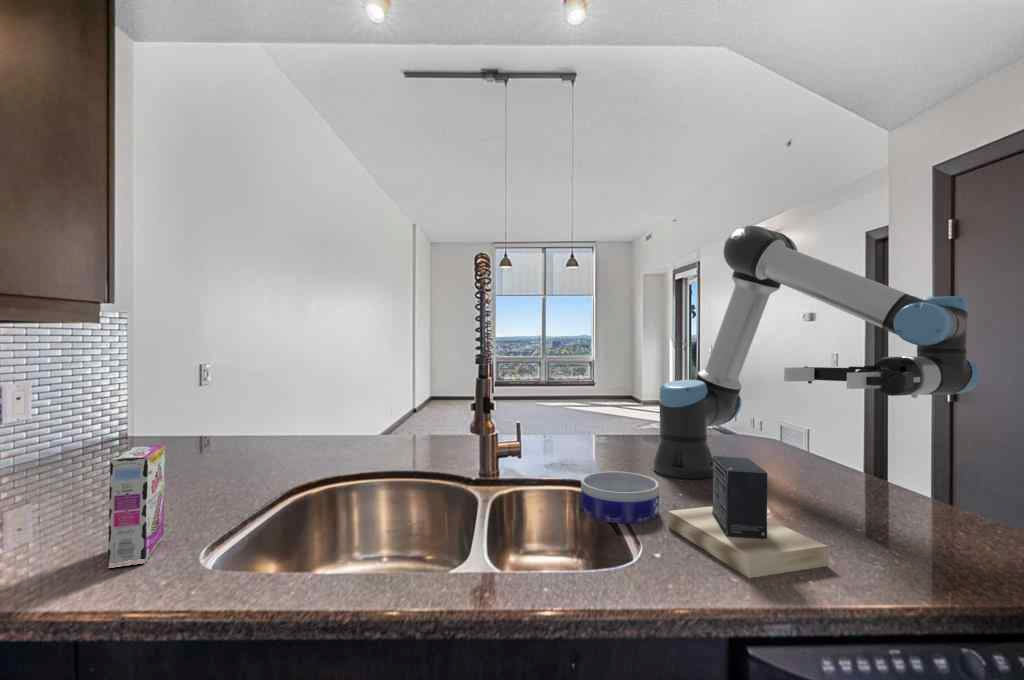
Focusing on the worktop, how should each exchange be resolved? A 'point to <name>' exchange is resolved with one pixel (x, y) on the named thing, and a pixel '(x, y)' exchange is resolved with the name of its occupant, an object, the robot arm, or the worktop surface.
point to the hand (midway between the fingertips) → (814, 377)
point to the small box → (740, 497)
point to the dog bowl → (620, 497)
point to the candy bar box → (136, 503)
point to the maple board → (749, 545)
